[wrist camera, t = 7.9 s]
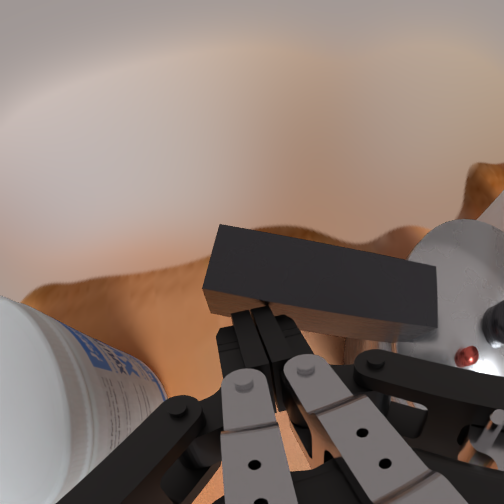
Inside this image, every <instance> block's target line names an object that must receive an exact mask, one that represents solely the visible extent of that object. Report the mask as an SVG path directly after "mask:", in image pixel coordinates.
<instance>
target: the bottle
mask: <svg viewBox="0 0 504 504" xmlns="http://www.w3.org/2000/svg"><path fill="white" fill-rule="evenodd" d="M477 221H481V222H485V223H487V224H490V225H492V226H494V227H496V228H498V229H500V230H501V231H503V232H504V190H503V191H502V193H501V194H500V195H499V196H498V197H497V198H496V199H495V200H494V202H493V203H492V204H491V205H490V206H489V207H488V208H487V209H486V210H485V211H484V212H483V213H482V214H481V215H480V216H479V218H478V219H477Z"/></svg>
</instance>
